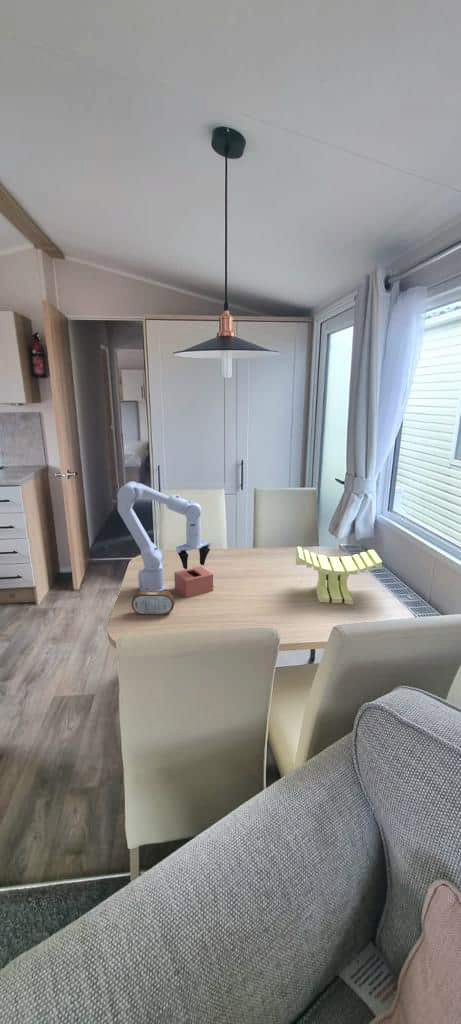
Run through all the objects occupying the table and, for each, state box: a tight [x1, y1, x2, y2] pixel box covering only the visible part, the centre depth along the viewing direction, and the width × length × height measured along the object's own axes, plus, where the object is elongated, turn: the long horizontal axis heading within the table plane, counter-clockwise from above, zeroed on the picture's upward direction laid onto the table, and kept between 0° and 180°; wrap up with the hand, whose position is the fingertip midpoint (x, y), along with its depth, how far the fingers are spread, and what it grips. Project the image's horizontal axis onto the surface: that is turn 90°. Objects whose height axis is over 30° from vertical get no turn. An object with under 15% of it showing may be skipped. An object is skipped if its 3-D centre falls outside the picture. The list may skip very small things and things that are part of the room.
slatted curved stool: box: [295, 546, 383, 605], centre depth 170 cm, size 30×16×18 cm, turn 86°
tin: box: [131, 590, 176, 616], centre depth 153 cm, size 15×3×8 cm, turn 92°
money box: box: [173, 565, 214, 598], centre depth 173 cm, size 12×10×7 cm
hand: (193, 566), depth 172 cm, fingers open, 7 cm apart
